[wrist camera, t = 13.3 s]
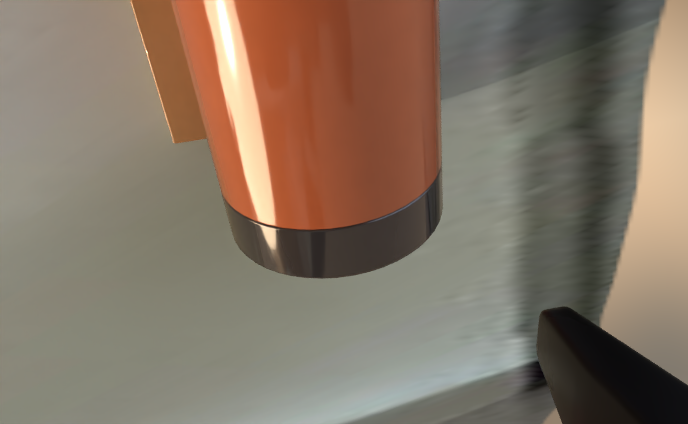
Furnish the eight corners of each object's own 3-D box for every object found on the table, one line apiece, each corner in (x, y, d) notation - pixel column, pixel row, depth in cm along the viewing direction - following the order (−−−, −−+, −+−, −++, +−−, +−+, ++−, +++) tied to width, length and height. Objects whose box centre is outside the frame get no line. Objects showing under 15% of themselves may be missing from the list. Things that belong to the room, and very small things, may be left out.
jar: (120, -195, 14) (112, -199, 9) (375, -229, 15) (493, -248, 10) (220, 182, 19) (248, 305, 14) (398, 139, 20) (480, 241, 16)
